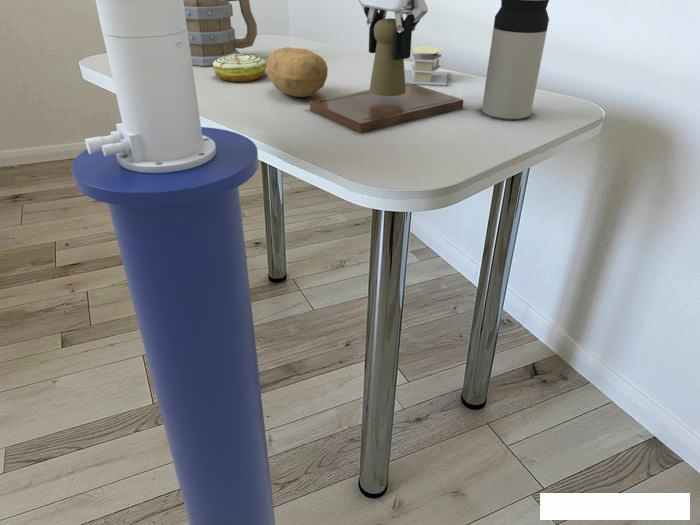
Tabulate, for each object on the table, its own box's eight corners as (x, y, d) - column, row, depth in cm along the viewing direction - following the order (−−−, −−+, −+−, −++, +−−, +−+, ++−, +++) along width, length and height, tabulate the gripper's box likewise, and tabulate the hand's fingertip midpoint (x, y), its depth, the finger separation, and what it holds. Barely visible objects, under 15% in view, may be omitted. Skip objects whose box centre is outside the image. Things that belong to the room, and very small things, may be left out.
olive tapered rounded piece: (412, 93, 89) (418, 20, 83) (381, 97, 86) (385, 23, 80) (392, 84, 93) (396, 15, 87) (362, 89, 91) (364, 17, 85)
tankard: (186, 68, 115) (174, -11, 107) (177, 56, 125) (166, -17, 117) (276, 60, 122) (272, -14, 114) (261, 50, 132) (256, -20, 124)
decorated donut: (265, 69, 115) (263, 50, 113) (269, 82, 106) (267, 62, 104) (214, 71, 113) (212, 52, 111) (214, 84, 104) (212, 63, 102)
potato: (299, 83, 105) (297, 39, 101) (340, 100, 96) (340, 52, 92) (254, 90, 101) (250, 45, 96) (293, 109, 91) (291, 59, 87)
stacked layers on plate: (446, 85, 105) (449, 55, 102) (400, 83, 106) (402, 53, 103) (447, 73, 113) (450, 45, 110) (404, 71, 115) (406, 43, 112)
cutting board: (360, 133, 81) (360, 123, 80) (309, 110, 91) (309, 101, 90) (462, 108, 92) (463, 99, 92) (407, 90, 102) (408, 82, 101)
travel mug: (520, 123, 86) (543, -2, 76) (473, 114, 90) (490, -7, 80) (537, 111, 91) (560, -7, 82) (492, 103, 95) (510, -11, 85)
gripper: (338, -79, 81) (338, 49, 91) (416, -78, 69) (407, 68, 79) (377, -79, 85) (373, 44, 94) (457, -78, 73) (443, 62, 83)
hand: (389, 54), depth 87 cm, fingers closed on olive tapered rounded piece, 5 cm apart
